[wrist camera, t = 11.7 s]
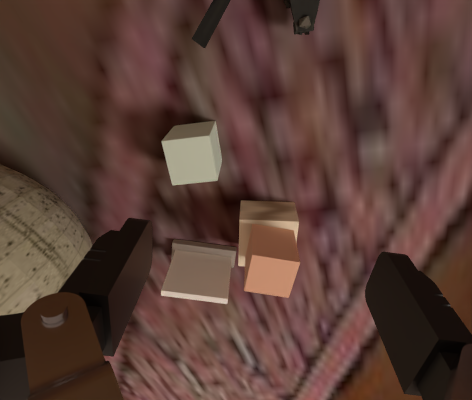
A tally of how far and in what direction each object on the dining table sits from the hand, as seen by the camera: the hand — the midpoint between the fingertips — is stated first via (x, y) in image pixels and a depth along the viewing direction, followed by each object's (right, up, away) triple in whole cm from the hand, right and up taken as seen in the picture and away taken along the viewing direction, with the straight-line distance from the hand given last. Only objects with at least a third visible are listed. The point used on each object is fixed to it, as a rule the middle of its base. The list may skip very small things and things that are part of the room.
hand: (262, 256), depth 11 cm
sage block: (-5, +9, +28) cm, 29 cm away
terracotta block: (+3, -3, +28) cm, 28 cm away
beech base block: (+3, -1, +33) cm, 33 cm away
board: (-5, -5, +35) cm, 36 cm away
